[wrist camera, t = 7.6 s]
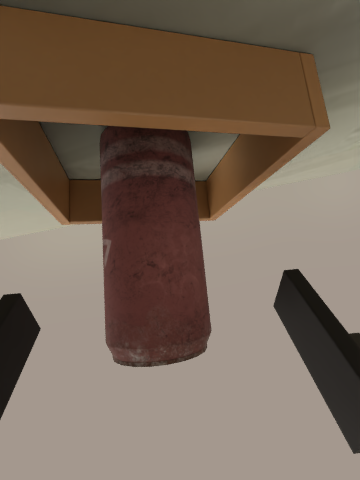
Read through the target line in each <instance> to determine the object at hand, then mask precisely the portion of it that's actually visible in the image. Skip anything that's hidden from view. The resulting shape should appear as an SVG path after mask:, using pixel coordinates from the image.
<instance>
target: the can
mask: <svg viewBox="0 0 360 480" xmlns="http://www.w3.org/2000/svg"><path fill="white" fill-rule="evenodd" d="M100 166H101V199H102V232H103V265H104V298H105V330H106V344H107V346H108V348H109V349H110V351H111V353H112V355H113V360H114V362H116V363H118V364H120V365H126V366H132V367H152V366H159V365H168V364H172V363H177V362H182V361H186V360H189V359H191V358H194V357H197V356H199V355H200V354H202V353H203V352H205V350H206V348H207V341H208V339H209V336H210V333H211V323H210V314H209V306H208V297H207V287H206V278H205V269H204V260H203V251H202V241H201V233H200V224H199V214H198V205H197V196H196V187H195V178H194V169H193V160H192V151H191V142H190V138H189V135H188V132H187V131H186V130H171V129H155V128H139V127H123V126H107V127H106V129H105V130H104V131H103V133H102V134H101V138H100Z"/></svg>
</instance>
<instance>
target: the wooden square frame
mask: <svg viewBox="0 0 360 480" xmlns="http://www.w3.org/2000/svg"><path fill="white" fill-rule="evenodd" d="M38 121H42V122H58V123H74V124H90V125H106V126H123V127H139V128H155V129H171V130H187V131H203V132H219V133H235V134H240V135H239V137H238V138H237V139H236V141H235V142H234V143H233V145H232V146H231V148H230V149H229V150H228V152H227V153H226V154H225V156H224V157H223V159H222V160H221V161H220V163H219V164H218V165H217V167H216V168H215V170H214V171H213V172H212V174H211V175H210V176H209V178H208V179H207V181H206V182H205V181H195V187H196V196H197V205H198V214H199V221H207V220H208V221H209V220H216V219H217V218H218V217H219V216H221V215H222V214H223V213H224V212H226V211H227V210H228V209H229V208H231V207H232V206H233V205H235V204H236V203H237V202H238V201H240V200H241V199H242V198H243V197H245V196H246V195H247V194H248V193H250V192H251V191H252V190H253V189H255V188H256V187H257V186H259V185H260V184H261V183H262V182H264V181H265V180H266V179H267V178H269V177H270V176H271V175H272V174H274V173H275V172H276V171H277V170H279V169H280V168H281V167H282V166H284V165H285V164H286V163H287V162H289V161H290V160H291V159H292V158H294V157H295V156H296V155H297V154H299V153H300V152H301V151H303V150H304V149H305V148H306V147H308V146H309V145H310V144H311V143H313V142H314V141H315V140H316V139H318V138H319V137H320V136H321V135H323V134H324V133H325V132H326V131H328V130H329V129H330V124H329V120H328V116H327V112H326V107H325V103H324V99H323V94H322V90H321V86H320V82H319V77H318V73H317V69H316V65H315V60H314V56H313V55H312V54H306V53H298V52H293V51H287V50H280V49H274V48H268V47H261V46H255V45H248V44H242V43H236V42H229V41H223V40H217V39H210V38H204V37H198V36H191V35H185V34H179V33H172V32H166V31H159V30H153V29H147V28H140V27H134V26H128V25H121V24H115V23H109V22H102V21H96V20H90V19H83V18H77V17H71V16H64V15H58V14H51V13H45V12H39V11H32V10H26V9H20V8H13V7H7V6H1V5H0V163H1V164H2V165H3V166H4V167H5V168H6V169H7V170H8V171H9V172H10V173H11V174H12V175H13V176H14V177H15V178H16V179H17V180H18V181H19V182H20V183H21V184H22V185H23V186H24V187H25V188H26V189H27V190H28V191H29V192H30V193H31V194H32V195H33V196H34V197H35V198H36V199H37V200H38V201H39V202H40V203H41V204H42V205H43V206H44V207H45V208H46V209H47V210H48V211H49V212H50V213H51V214H52V215H53V216H54V217H55V218H56V219H57V220H58V221H59V222H60V223H61V224H62V225H69V224H101V223H102V199H101V180H69V179H68V177H67V175H66V173H65V171H64V169H63V168H62V166H61V164H60V162H59V160H58V158H57V156H56V154H55V152H54V150H53V149H52V147H51V145H50V143H49V141H48V139H47V137H46V135H45V133H44V131H43V130H42V128H41V126H40V124H39V122H38Z"/></svg>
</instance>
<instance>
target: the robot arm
mask: <svg viewBox="0 0 360 480" xmlns="http://www.w3.org/2000/svg"><path fill="white" fill-rule="evenodd" d="M274 308H275V310H276V312H277V313H278V315H279V317H280V319H281V321H282V322H283V324H284V326H285V328H286V330H287V332H288V334H289V335H290V337H291V339H292V341H293V343H294V345H295V346H296V348H297V350H298V352H299V354H300V356H301V358H302V359H303V361H304V363H305V365H306V367H307V369H308V370H309V372H310V374H311V376H312V378H313V380H314V382H315V383H316V385H317V387H318V389H319V391H320V393H321V394H322V396H323V398H324V400H325V402H326V404H327V405H328V407H329V409H330V411H331V413H332V415H333V417H334V418H335V420H336V422H337V424H338V426H339V428H340V429H341V431H342V433H343V435H344V437H345V439H346V441H347V442H348V444H349V446H350V448H351V450H352V452H353V453H354V454H355V453H360V333H352V334H348V332H347V331H346V330H345V329H344V327H343V326H342V325H341V323H340V322H339V321H338V319H337V318H336V317H335V316H334V314H333V313H332V312H331V311H330V309H329V308H328V307H327V305H326V304H325V303H324V302H323V300H322V299H321V298H320V297H319V295H318V294H317V293H316V291H315V290H314V289H313V288H312V286H311V285H310V284H309V282H308V281H307V280H306V278H305V277H304V276H303V275H302V273H301V272H300V271H299V269H293V270H284V272H283V276H282V279H281V282H280V286H279V289H278V292H277V296H276V299H275V303H274ZM39 331H40V327H39V325H38V323H37V321H36V320H35V318H34V316H33V315H32V313H31V311H30V309H29V307H28V306H27V304H26V302H25V301H24V299H23V297H22V295H21V294H20V293H18V294H7V295H3V297H2V298H1V300H0V419H1V417H2V415H3V412H4V410H5V408H6V406H7V403H8V401H9V399H10V397H11V394H12V392H13V390H14V388H15V385H16V383H17V381H18V379H19V376H20V374H21V372H22V369H23V367H24V365H25V363H26V361H27V358H28V356H29V354H30V352H31V349H32V347H33V345H34V342H35V340H36V338H37V336H38V334H39Z"/></svg>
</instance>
